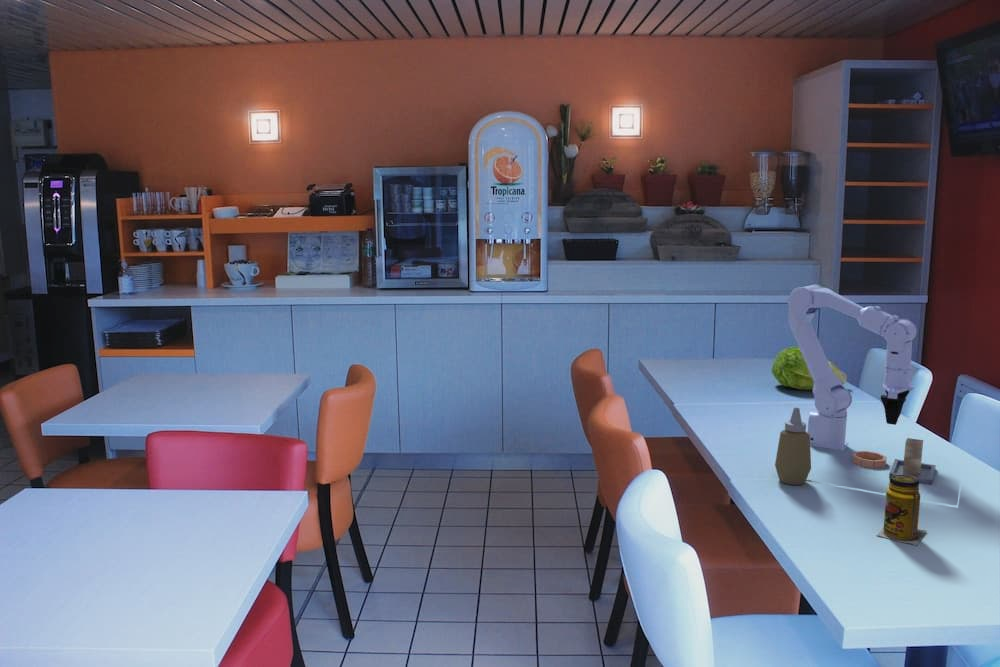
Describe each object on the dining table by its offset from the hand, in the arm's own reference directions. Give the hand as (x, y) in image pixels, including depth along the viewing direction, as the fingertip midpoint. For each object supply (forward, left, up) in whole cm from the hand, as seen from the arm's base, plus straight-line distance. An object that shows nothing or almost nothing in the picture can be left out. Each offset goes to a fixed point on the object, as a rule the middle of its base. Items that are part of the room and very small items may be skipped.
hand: (893, 420), depth 202 cm
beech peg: (+6, -10, -10) cm, 15 cm away
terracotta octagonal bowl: (-4, -7, -10) cm, 13 cm away
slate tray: (+6, -10, -10) cm, 16 cm away
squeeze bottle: (-18, -29, -11) cm, 36 cm away
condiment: (+7, -48, -11) cm, 50 cm away
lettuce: (-33, +68, -11) cm, 76 cm away
